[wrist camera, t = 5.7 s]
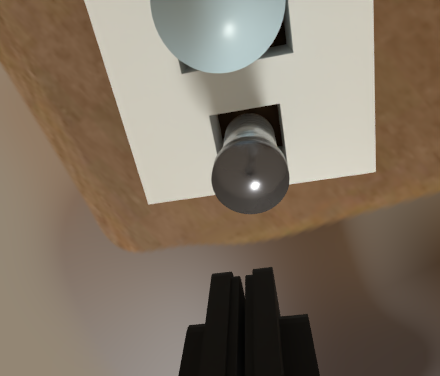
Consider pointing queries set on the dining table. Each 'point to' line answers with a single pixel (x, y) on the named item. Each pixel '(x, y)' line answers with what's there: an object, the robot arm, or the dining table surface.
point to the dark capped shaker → (250, 166)
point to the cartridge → (217, 31)
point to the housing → (244, 95)
